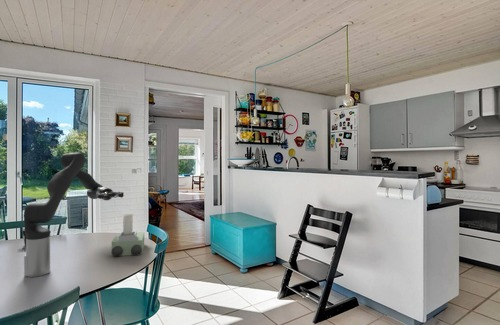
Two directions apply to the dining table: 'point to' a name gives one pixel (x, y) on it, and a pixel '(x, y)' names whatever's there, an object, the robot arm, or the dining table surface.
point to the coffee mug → (24, 236)
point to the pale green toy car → (128, 244)
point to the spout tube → (127, 224)
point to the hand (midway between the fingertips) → (115, 196)
